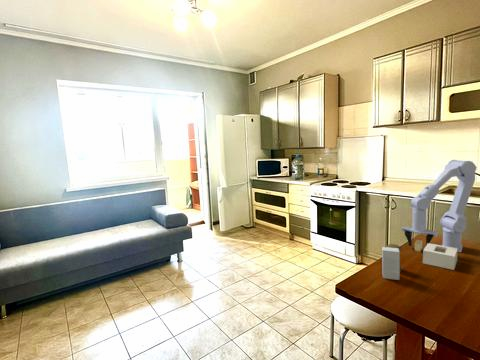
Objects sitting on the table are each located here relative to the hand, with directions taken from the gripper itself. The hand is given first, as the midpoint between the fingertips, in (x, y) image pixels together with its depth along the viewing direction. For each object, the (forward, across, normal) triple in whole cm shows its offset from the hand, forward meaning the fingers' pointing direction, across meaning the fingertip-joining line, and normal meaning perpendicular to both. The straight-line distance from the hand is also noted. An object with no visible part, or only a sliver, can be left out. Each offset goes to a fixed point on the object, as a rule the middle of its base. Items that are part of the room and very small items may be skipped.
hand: (418, 247), depth 133 cm
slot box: (+1, +10, -10) cm, 14 cm away
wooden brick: (+2, 0, 0) cm, 2 cm away
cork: (+2, -4, -29) cm, 29 cm away
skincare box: (+2, -3, -37) cm, 37 cm away
